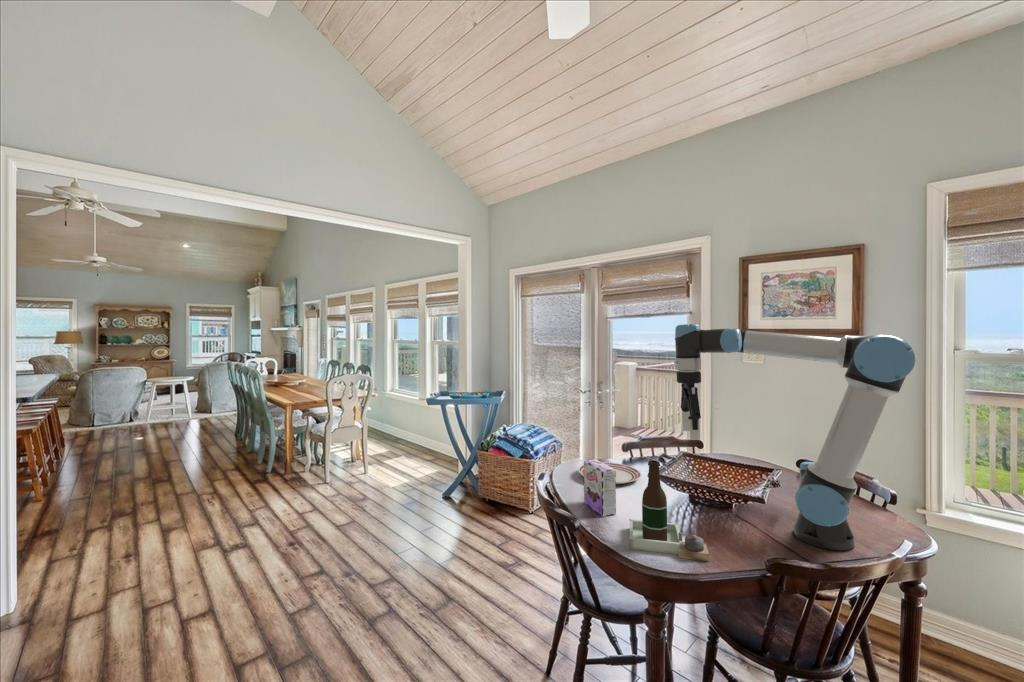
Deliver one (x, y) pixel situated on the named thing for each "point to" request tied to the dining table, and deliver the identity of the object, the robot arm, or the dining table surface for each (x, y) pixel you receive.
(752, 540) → the dining table surface
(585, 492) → the candy box
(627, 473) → the dinner plate
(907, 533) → the dining table surface
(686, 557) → the grey stone on stand
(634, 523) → the tray
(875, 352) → the robot arm
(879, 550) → the dining table surface
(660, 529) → the beer bottle
